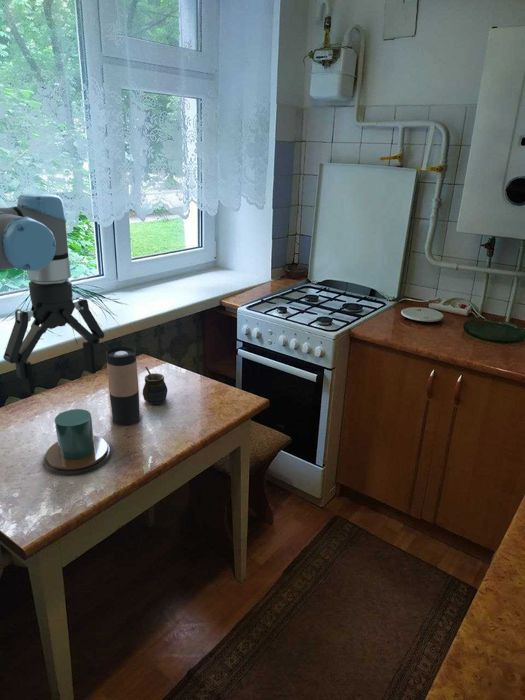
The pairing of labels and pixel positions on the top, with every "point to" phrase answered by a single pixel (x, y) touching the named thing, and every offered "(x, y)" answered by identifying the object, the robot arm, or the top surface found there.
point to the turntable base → (78, 471)
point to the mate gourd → (154, 388)
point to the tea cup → (75, 442)
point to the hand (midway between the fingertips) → (61, 381)
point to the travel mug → (123, 385)
